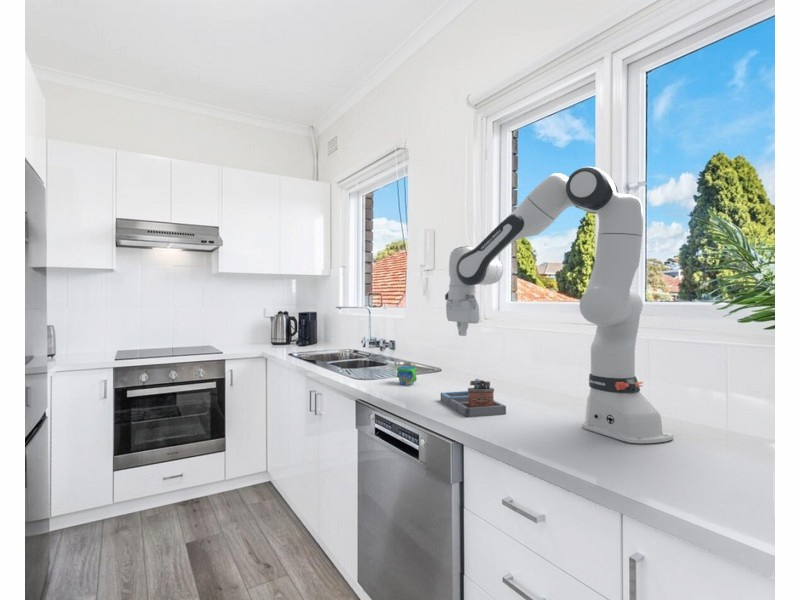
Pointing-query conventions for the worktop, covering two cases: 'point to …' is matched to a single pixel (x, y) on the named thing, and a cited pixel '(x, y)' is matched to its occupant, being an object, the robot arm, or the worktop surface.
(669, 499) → the worktop surface
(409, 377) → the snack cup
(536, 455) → the worktop surface
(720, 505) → the worktop surface
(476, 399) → the lighter
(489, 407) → the divider tray
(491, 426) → the worktop surface
